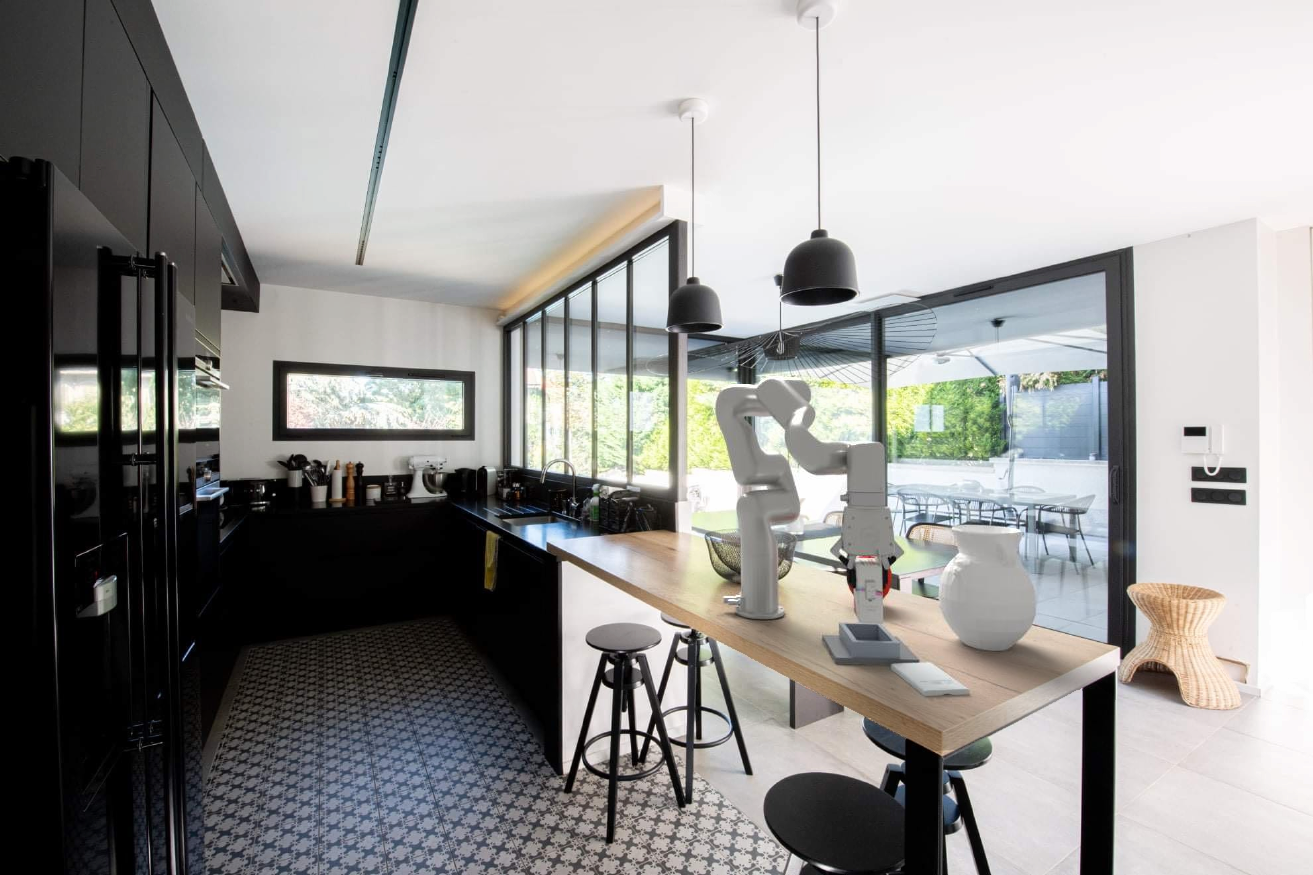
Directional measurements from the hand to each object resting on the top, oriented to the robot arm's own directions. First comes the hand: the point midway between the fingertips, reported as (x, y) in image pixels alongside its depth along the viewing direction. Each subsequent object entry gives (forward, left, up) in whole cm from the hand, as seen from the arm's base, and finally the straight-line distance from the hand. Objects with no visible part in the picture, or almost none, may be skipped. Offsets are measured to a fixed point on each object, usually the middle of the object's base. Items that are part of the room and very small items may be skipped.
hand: (867, 586), depth 123 cm
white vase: (+27, +8, -14) cm, 31 cm away
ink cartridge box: (0, 0, -7) cm, 7 cm away
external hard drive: (+7, -14, -15) cm, 22 cm away
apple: (+10, +37, -14) cm, 40 cm away
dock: (0, 0, -14) cm, 14 cm away
